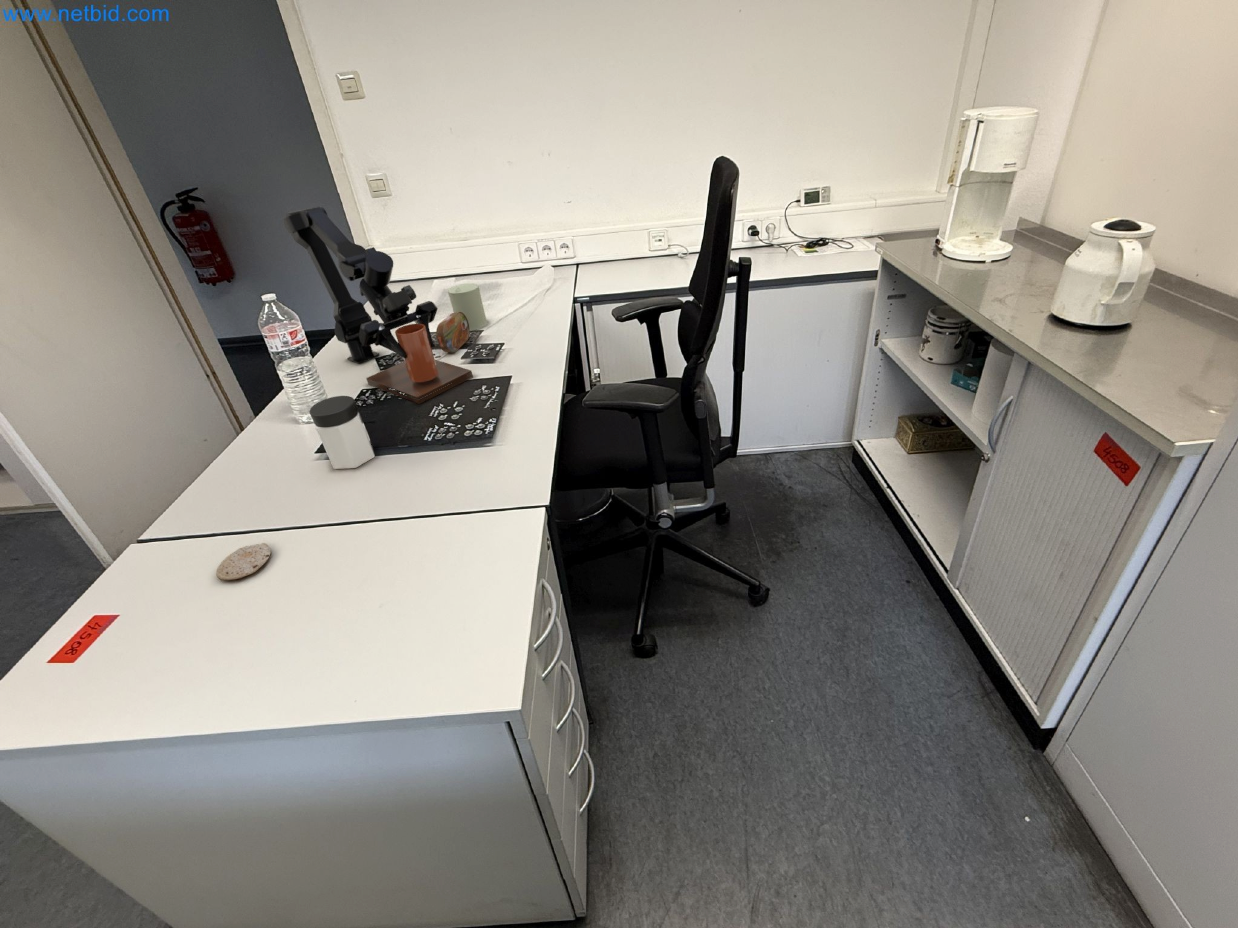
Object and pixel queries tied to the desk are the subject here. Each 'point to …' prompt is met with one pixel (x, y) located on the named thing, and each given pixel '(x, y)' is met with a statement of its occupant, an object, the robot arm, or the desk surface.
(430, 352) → the pen cup
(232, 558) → the flatbread
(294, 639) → the desk surface
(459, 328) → the tin
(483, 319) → the can
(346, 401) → the jar
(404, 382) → the board
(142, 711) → the desk surface
